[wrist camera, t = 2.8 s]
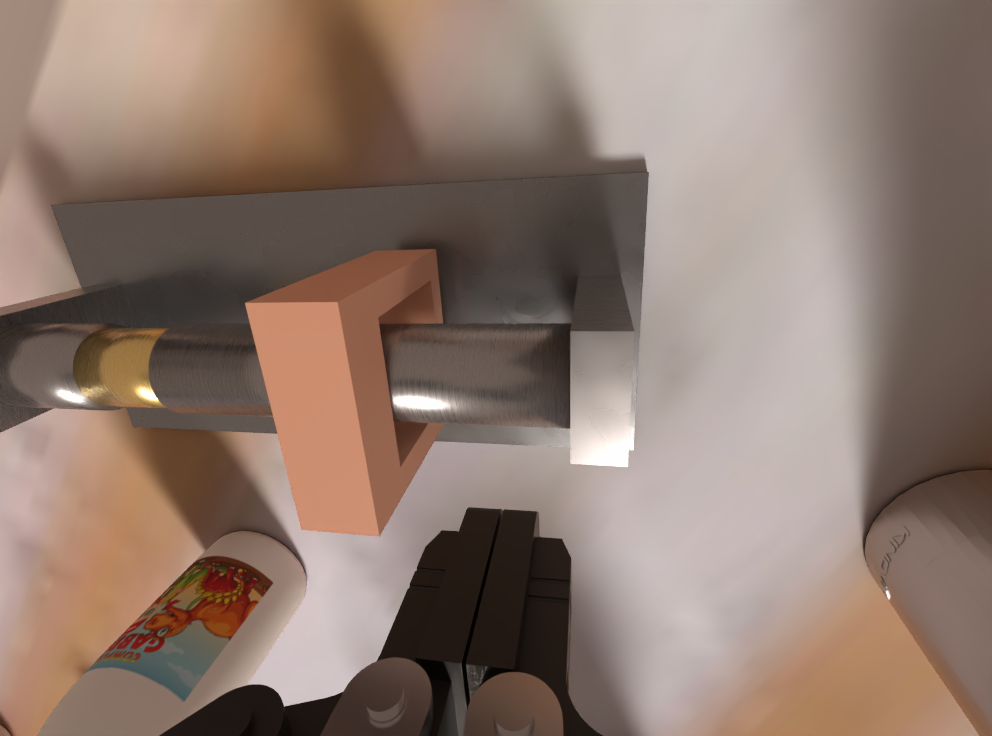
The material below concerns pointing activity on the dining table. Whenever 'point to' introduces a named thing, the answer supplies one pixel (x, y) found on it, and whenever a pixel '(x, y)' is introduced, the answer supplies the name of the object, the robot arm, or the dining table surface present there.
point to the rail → (406, 346)
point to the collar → (345, 386)
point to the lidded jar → (4, 731)
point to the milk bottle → (188, 642)
